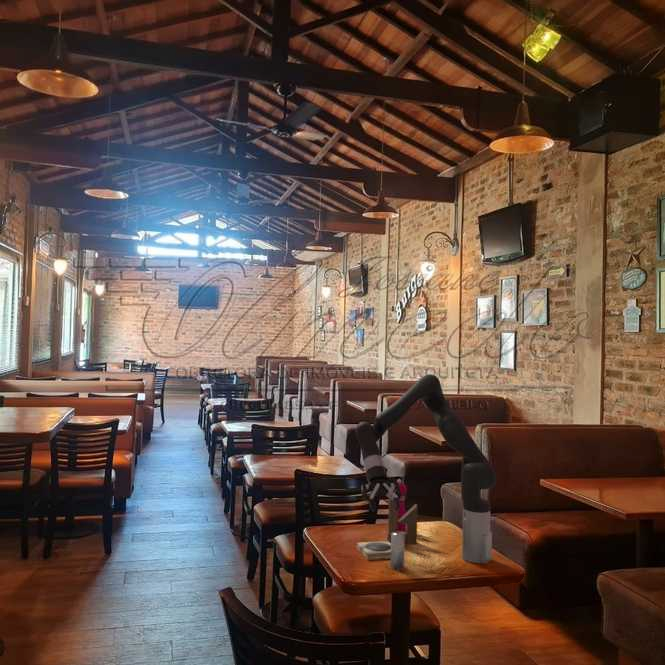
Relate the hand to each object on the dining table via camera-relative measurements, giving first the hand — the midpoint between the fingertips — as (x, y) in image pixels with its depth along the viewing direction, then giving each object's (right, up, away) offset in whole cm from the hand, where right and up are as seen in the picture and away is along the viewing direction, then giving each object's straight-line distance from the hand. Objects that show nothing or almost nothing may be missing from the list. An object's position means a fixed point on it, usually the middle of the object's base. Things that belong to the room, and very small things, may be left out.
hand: (385, 509), depth 208 cm
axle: (+3, -15, -12) cm, 19 cm away
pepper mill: (+8, -17, +31) cm, 36 cm away
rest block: (-3, -16, +2) cm, 16 cm away
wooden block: (+7, -17, +14) cm, 23 cm away
